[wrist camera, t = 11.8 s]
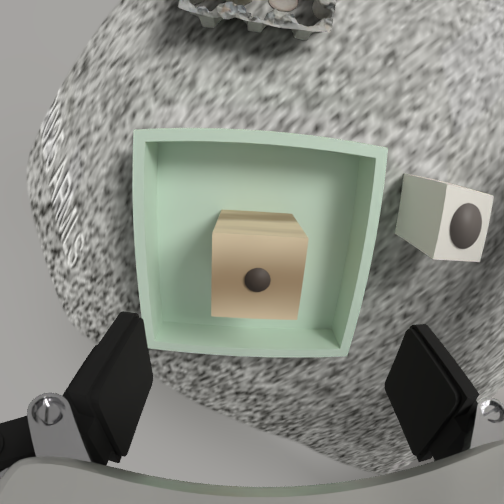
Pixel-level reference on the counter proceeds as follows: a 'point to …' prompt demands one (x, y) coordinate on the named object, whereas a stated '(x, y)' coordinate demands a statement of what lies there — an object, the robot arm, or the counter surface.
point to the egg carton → (278, 17)
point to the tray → (262, 200)
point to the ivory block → (443, 218)
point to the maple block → (257, 265)
